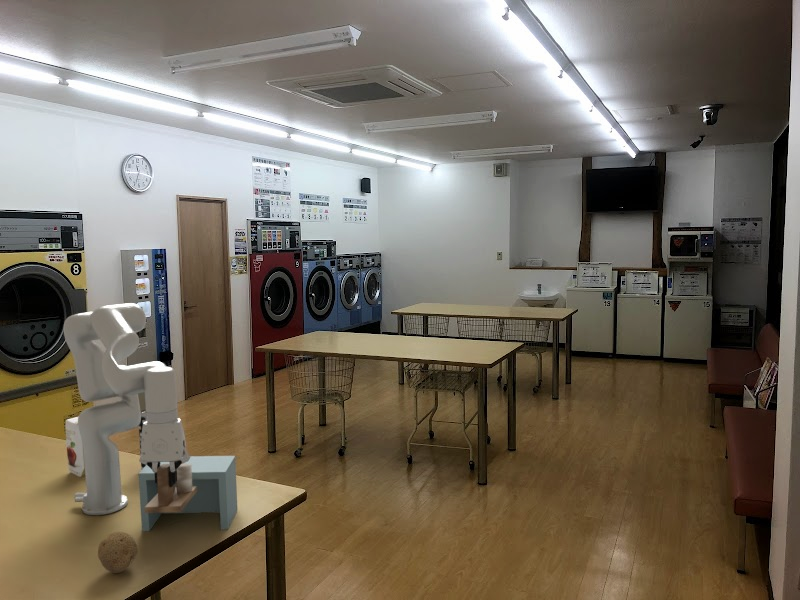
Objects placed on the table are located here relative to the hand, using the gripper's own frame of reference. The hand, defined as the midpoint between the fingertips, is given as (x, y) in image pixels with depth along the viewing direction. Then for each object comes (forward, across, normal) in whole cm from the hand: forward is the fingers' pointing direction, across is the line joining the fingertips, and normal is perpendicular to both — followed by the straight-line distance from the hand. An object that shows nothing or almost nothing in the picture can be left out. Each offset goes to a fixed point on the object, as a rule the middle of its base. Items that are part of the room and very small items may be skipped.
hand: (166, 484), depth 161 cm
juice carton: (+19, -48, +56) cm, 77 cm away
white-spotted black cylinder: (+19, -24, +57) cm, 65 cm away
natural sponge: (+20, -10, -7) cm, 23 cm away
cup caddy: (+6, 0, +3) cm, 7 cm away
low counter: (+19, 0, +19) cm, 27 cm away
